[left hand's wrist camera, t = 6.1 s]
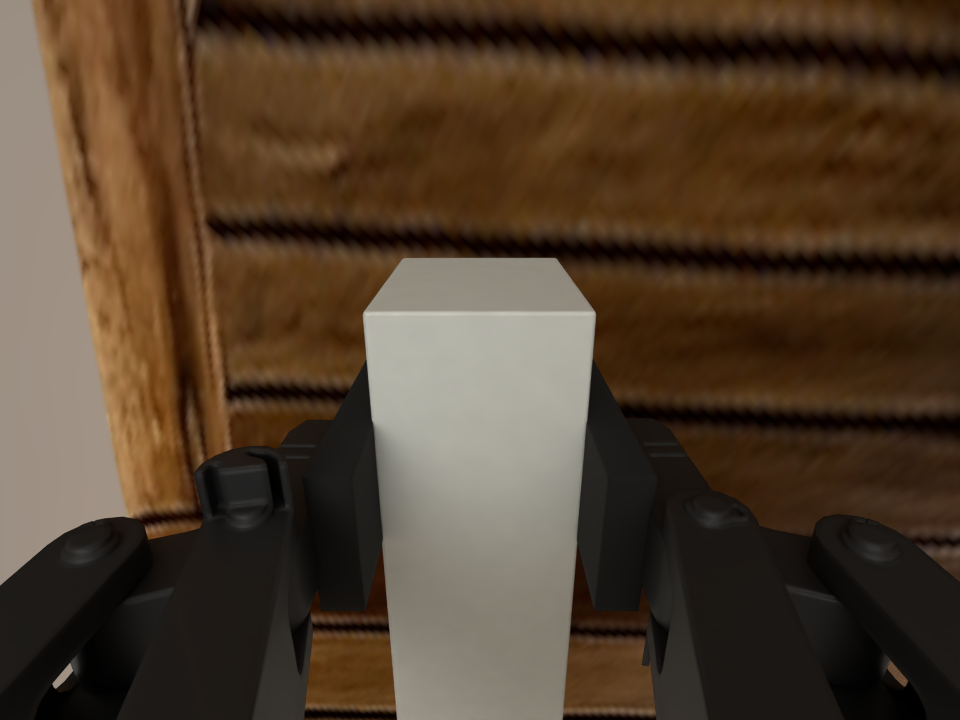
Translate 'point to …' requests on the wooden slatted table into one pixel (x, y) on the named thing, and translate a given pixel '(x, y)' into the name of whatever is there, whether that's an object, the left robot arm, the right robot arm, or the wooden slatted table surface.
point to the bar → (479, 479)
